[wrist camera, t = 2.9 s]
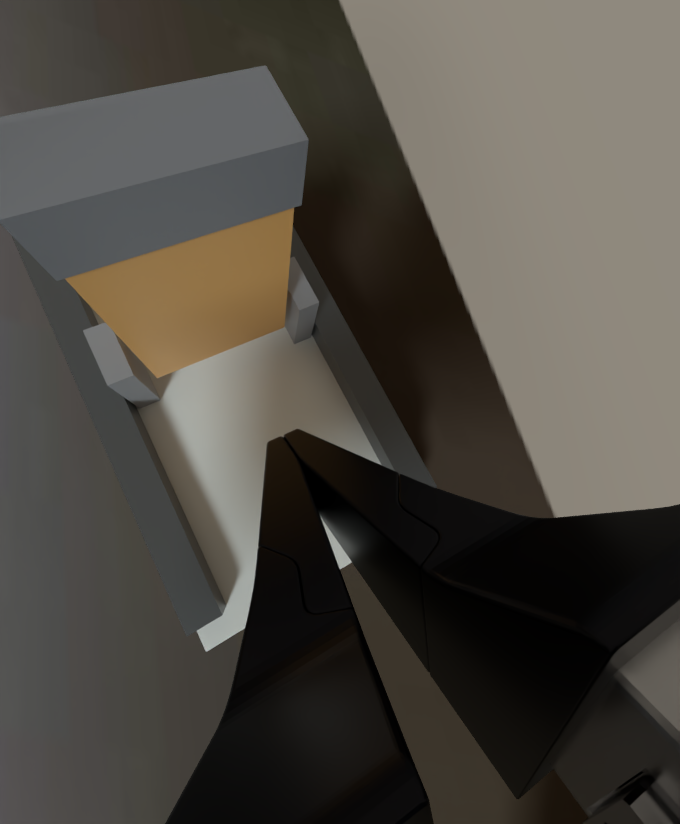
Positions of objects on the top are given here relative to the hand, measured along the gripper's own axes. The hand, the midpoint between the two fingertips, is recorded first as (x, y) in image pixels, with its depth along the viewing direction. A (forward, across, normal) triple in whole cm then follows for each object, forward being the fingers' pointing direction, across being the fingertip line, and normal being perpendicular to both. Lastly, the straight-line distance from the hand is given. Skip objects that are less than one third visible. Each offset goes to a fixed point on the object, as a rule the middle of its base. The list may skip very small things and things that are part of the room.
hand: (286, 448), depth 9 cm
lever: (+7, 0, 0) cm, 7 cm away
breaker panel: (+10, 0, +2) cm, 10 cm away
